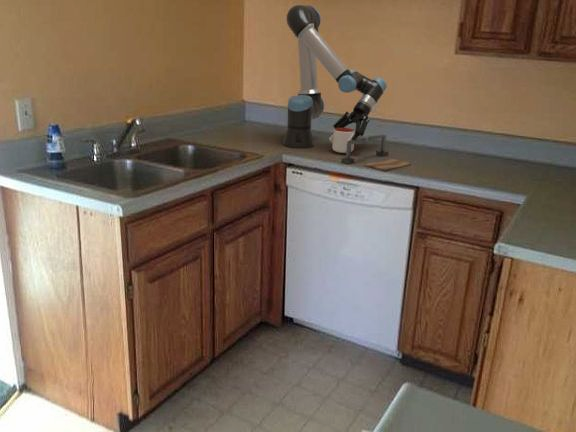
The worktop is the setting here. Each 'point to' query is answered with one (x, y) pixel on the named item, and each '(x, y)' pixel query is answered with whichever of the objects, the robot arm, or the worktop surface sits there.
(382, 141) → the jointed metal bar
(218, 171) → the worktop surface
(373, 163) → the walnut board
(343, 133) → the cup
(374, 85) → the robot arm
